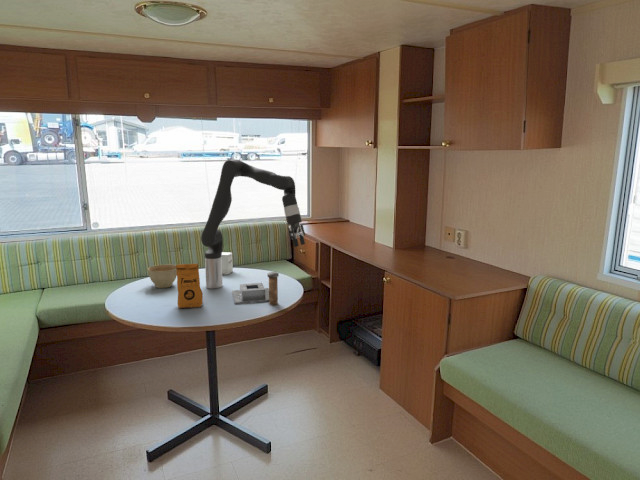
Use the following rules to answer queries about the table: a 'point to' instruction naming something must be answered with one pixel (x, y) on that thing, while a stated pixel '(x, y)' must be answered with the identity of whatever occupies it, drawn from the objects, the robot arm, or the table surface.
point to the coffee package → (188, 286)
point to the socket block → (251, 293)
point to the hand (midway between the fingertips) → (299, 245)
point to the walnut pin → (273, 288)
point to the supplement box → (227, 263)
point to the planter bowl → (163, 275)
